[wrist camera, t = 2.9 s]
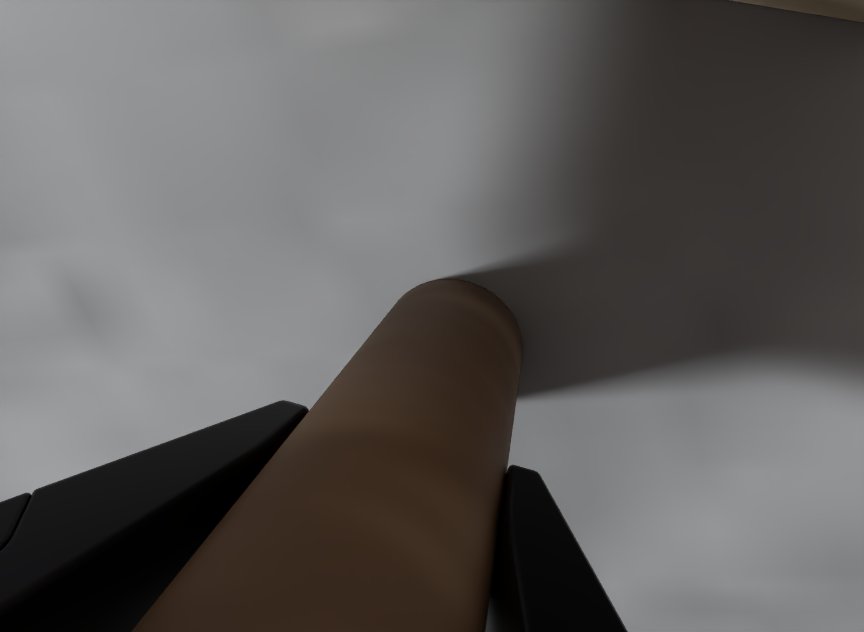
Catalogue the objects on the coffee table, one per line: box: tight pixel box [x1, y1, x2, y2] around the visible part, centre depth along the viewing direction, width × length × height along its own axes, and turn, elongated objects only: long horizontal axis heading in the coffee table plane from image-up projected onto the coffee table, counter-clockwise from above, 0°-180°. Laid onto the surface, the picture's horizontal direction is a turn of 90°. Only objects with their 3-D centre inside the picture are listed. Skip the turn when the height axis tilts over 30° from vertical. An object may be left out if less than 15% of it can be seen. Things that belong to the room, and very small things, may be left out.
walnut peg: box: [131, 279, 523, 632], centre depth 7 cm, size 3×3×11 cm
